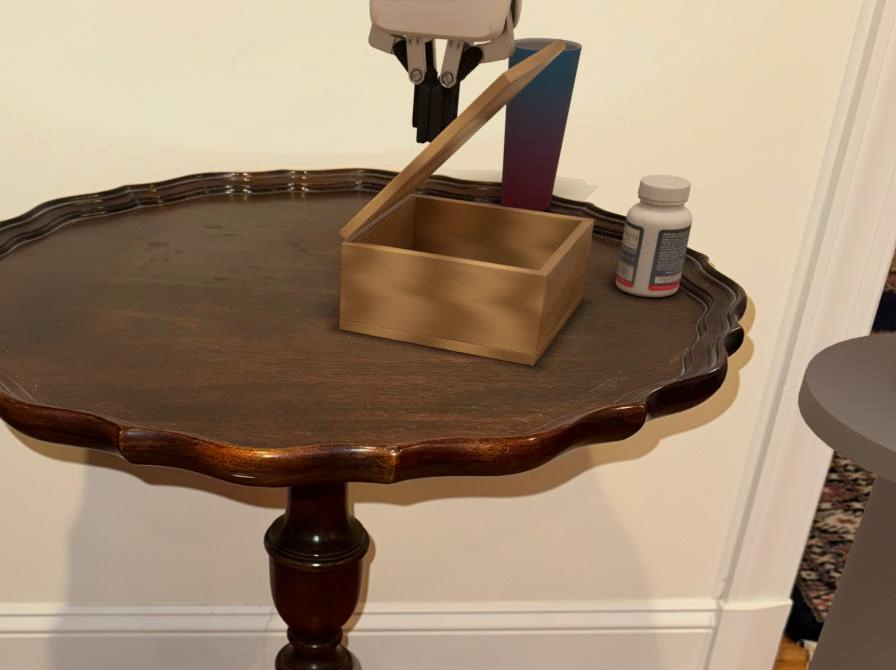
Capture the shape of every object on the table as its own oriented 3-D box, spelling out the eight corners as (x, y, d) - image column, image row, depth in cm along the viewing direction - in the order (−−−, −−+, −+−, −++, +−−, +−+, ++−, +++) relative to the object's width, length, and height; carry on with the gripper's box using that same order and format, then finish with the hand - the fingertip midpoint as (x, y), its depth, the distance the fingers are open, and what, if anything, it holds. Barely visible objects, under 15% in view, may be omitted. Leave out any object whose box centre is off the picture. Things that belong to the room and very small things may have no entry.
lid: (567, 46, 84) (560, 37, 84) (511, 82, 73) (503, 72, 73) (414, 191, 94) (408, 183, 94) (345, 240, 84) (338, 232, 84)
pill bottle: (683, 283, 97) (706, 177, 92) (670, 303, 93) (693, 193, 88) (622, 273, 99) (641, 169, 94) (607, 292, 95) (626, 184, 90)
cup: (486, 210, 114) (503, 47, 105) (498, 192, 119) (515, 35, 110) (553, 217, 112) (577, 52, 103) (562, 199, 117) (586, 40, 109)
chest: (581, 301, 93) (594, 218, 89) (533, 366, 83) (546, 275, 79) (405, 272, 99) (410, 193, 95) (338, 329, 88) (341, 242, 84)
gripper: (582, -153, 74) (543, 141, 85) (371, -159, 79) (360, 119, 90) (553, -150, 68) (515, 164, 79) (328, -156, 73) (321, 139, 84)
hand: (433, 139), depth 84 cm, fingers closed
